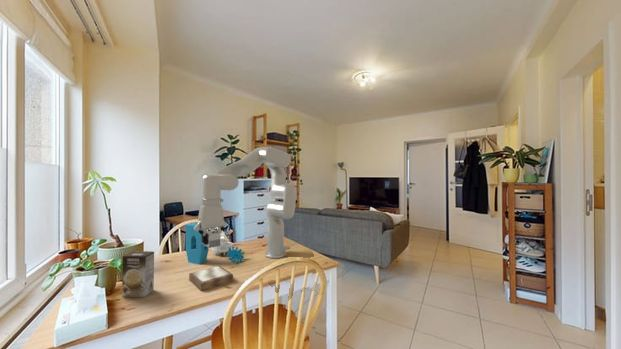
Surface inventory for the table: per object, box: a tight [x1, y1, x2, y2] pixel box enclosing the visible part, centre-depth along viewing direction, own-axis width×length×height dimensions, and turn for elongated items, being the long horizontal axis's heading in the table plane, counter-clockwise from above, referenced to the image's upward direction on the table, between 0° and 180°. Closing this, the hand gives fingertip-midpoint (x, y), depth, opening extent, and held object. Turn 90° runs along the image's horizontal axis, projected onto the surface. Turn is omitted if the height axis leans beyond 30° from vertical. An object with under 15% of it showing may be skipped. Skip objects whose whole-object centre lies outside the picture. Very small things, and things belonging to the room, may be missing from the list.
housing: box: [202, 228, 222, 249], centre depth 114 cm, size 5×8×6 cm, turn 44°
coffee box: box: [121, 250, 155, 298], centre depth 102 cm, size 9×6×16 cm
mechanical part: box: [211, 233, 234, 255], centre depth 151 cm, size 11×12×12 cm
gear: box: [226, 245, 246, 264], centre depth 139 cm, size 11×6×10 cm
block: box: [185, 222, 210, 265], centre depth 137 cm, size 12×5×20 cm, turn 69°
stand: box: [188, 265, 234, 292], centre depth 114 cm, size 14×14×3 cm
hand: (211, 242), depth 114 cm, fingers closed on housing, 5 cm apart
